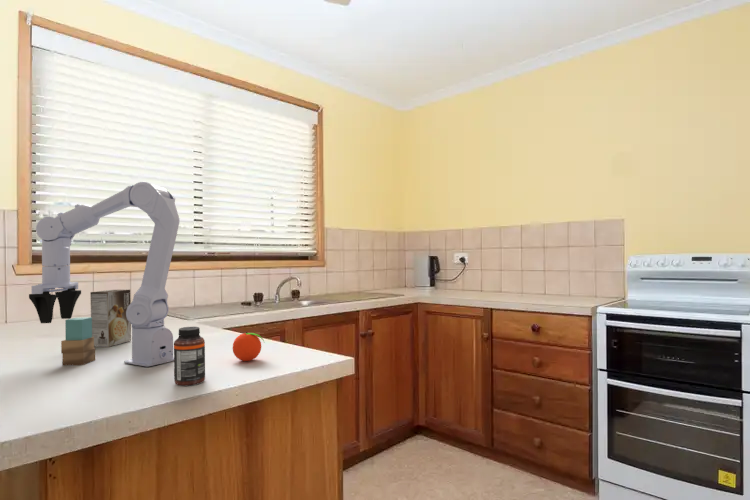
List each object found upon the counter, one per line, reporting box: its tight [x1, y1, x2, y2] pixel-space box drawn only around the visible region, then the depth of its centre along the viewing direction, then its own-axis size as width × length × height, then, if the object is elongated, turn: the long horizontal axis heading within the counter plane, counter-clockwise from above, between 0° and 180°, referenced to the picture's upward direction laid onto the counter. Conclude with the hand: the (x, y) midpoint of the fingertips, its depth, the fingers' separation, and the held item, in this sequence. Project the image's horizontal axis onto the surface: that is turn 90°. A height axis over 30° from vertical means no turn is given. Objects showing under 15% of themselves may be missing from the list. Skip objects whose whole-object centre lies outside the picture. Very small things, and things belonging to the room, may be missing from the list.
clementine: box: [232, 331, 265, 362], centre depth 113 cm, size 8×7×7 cm
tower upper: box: [60, 337, 95, 354], centre depth 113 cm, size 5×5×3 cm
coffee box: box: [90, 289, 132, 348], centre depth 137 cm, size 9×6×16 cm
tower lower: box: [61, 348, 96, 366], centre depth 113 cm, size 5×5×3 cm
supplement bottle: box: [173, 326, 206, 387], centre depth 94 cm, size 6×6×11 cm
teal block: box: [64, 316, 92, 340], centre depth 113 cm, size 4×4×5 cm
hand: (56, 320), depth 113 cm, fingers open, 7 cm apart
